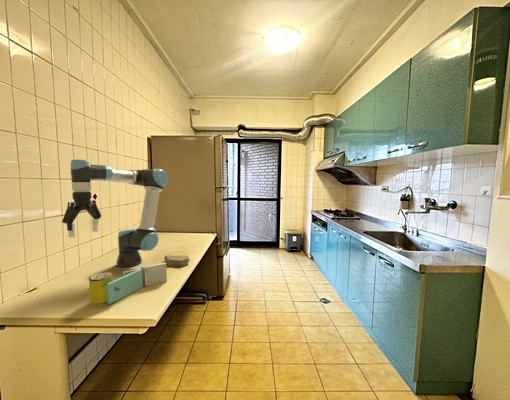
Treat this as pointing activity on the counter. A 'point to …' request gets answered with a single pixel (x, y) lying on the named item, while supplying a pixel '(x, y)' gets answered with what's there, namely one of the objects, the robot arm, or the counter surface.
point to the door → (124, 286)
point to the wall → (152, 274)
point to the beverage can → (99, 288)
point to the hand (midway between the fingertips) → (84, 234)
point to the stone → (176, 260)
